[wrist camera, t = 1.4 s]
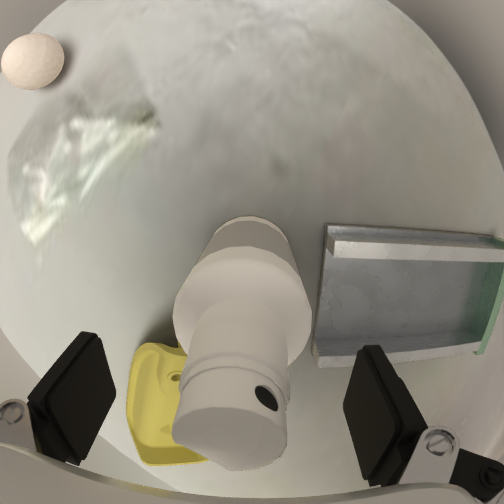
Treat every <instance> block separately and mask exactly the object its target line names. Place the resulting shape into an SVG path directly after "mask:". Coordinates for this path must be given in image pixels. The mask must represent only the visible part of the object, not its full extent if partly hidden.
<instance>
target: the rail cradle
mask: <svg viewBox="0 0 504 504" xmlns="http://www.w3.org/2000/svg"><path fill="white" fill-rule="evenodd" d="M503 296H504V240H503V239H501V238H493V237H491V236H489V235H482V234H471V233H460V232H449V231H437V230H424V229H411V228H397V227H382V226H366V225H349V224H330V223H325V234H324V245H323V256H322V266H321V276H320V285H319V293H318V301H317V309H316V317H315V325H314V332H313V339H312V346H311V353H312V356H314V357H315V361H316V365H317V368H332V367H352V366H354V363H355V359H356V355H357V352H358V350H361V349H362V348H363V346H364V345H377V344H378V345H380V346H381V348H382V349H383V351H384V353H385V355H386V356H387V358H388V360H389V361H390V363H401V362H409V361H418V360H425V359H433V358H439V357H446V356H452V355H458V354H464V353H469V352H474V354H475V355H479V354H483V353H484V350H485V348H486V346H487V343H488V340H489V338H490V335H491V332H492V330H493V327H494V324H495V321H496V318H497V315H498V312H499V309H500V306H501V303H502V300H503Z"/></svg>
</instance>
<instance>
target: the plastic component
mask: <svg viewBox="0 0 504 504" xmlns="http://www.w3.org/2000/svg"><path fill="white" fill-rule="evenodd" d="M177 345H178V348H173V347H169V346H167V345H165V344H162V343H145V344H143V345H141V346H140V347H139V348H138V349H137V351H136V352H135V355H134V357H133V360H132V363H131V368H130V374H129V383H128V391H127V401H126V415H127V421H128V426H129V429H130V432H131V435H132V438H133V441H134V443H135V446H136V449H137V451H138V454H139V456H140V459H141V461H142V462H143V463H145V464H146V465H149V466H168V465H183V464H194V463H201V462H205V461H208V460H209V459H207V458H205V457H203V456H202V455H200V454H198V453H196V452H194V451H192V450H189V449H187V448H185V447H184V446H182V445H179V444H176V443H175V442H174V440H173V438H172V434H171V432H172V426H173V421H174V418H175V415H176V412H177V408H178V405H179V402H180V392H179V388H178V387H179V382H180V376H181V373H182V370H183V367H184V364H185V361H186V359H187V356H188V355H187V354H186V353H185V351H184V350H183V348H182V346H181V344H180V343H179V341H178V343H177ZM175 374H178V375H175Z"/></svg>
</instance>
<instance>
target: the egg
mask: <svg viewBox="0 0 504 504" xmlns="http://www.w3.org/2000/svg"><path fill="white" fill-rule="evenodd" d="M63 64H64V52H63V48H62V46H61V45H60V43H59V42H58V41H57V40H56V39H55V38H53V37H51V36H49V35H46V34H41V33H33V34H27V35H24V36H22V37H19V38H17V39H15V40H14V41H13V42H12V43H10V44H9V45H8V47H7V48H6V50H5V51H4V53H3V56H2V61H1V67H2V71H3V73H4V75H5V77H6V78H7V79H8V81H9V82H10V83H11V84H13V85H14V86H16V87H19V88H21V89H26V90H34V89H39V88H41V87H44V86H46V85H48V84H49V83H51V82H52V81H53V80H54V79H55V78H56V77H57V76H58V75H59V73H60V71H61V70H62V67H63Z"/></svg>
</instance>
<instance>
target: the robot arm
mask: <svg viewBox="0 0 504 504" xmlns="http://www.w3.org/2000/svg"><path fill="white" fill-rule="evenodd" d="M115 397H116V388H115V385H114V382H113V379H112V376H111V372H110V369H109V366H108V362H107V359H106V355H105V351H104V348H103V344H102V340H101V339H100V338H99V337H98V336H97V334H95V333H91V332H84V331H82V332H81V333H80V334H79V335H78V336H77V337H76V338H75V339H74V340H73V342H72V343H71V344H70V345H69V346H68V347H67V349H66V350H65V351H64V352H63V353H62V355H61V356H60V357H59V358H58V359H57V361H56V362H55V363H54V364H53V365H52V367H51V368H50V369H49V370H48V372H47V373H46V374H45V375H44V377H43V378H42V379H41V380H40V382H39V383H38V384H37V385H36V387H35V388H34V389H33V390H32V392H31V393H30V394H29V396H28V400H29V401H28V403H27V404H26V403H25V402H24V401H22V400H19V399H10V400H7V401H5V402H3V403H1V405H0V504H504V465H503V464H502V463H500V462H498V461H495V460H492V459H489V458H486V457H483V456H480V455H477V454H475V453H472V452H469V451H466V450H463V449H461V448H460V441H459V438H458V436H457V435H456V433H455V432H453V431H452V430H451V429H449V428H447V427H443V426H432V427H430V428H428V426H427V424H426V422H425V420H424V418H423V417H422V415H421V413H420V411H419V409H418V407H417V405H416V404H415V402H414V400H413V398H412V396H411V395H410V393H409V391H408V389H407V387H406V386H405V384H404V382H403V380H402V379H401V378H399V377H398V375H397V374H396V372H395V370H394V368H393V367H392V365H391V363H390V361H389V360H388V358H387V356H386V355H385V353H384V351H383V349H382V348H381V346H380V345H378V344H377V345H364V346H363V348H362V349H361V350H358V352H357V355H356V359H355V363H354V367H353V371H352V374H351V378H350V381H349V385H348V388H347V392H346V395H345V398H344V402H343V410H344V414H345V417H346V420H347V424H348V427H349V431H350V434H351V437H352V441H353V444H354V448H355V451H356V455H357V459H358V462H359V466H360V469H361V473H362V477H363V479H364V480H368V482H369V486H370V487H371V486H376V485H381V487H380V488H373V489H367V490H361V491H355V492H348V493H341V494H332V495H322V496H312V497H298V498H231V497H216V496H205V495H196V494H188V493H181V492H174V491H168V490H163V489H157V488H152V487H147V486H142V485H138V484H134V483H129V482H125V481H121V480H117V479H114V478H110V477H106V476H103V475H100V474H97V473H93V472H90V471H87V470H84V469H81V468H78V467H75V466H72V465H69V464H67V463H65V462H66V461H67V462H69V463H72V464H74V465H77V466H79V465H80V462H81V460H85V459H86V457H87V455H88V452H89V450H90V448H91V446H92V444H93V442H94V440H95V438H96V436H97V434H98V432H99V430H100V428H101V426H102V424H103V422H104V420H105V418H106V416H107V414H108V412H109V410H110V408H111V406H112V404H113V402H114V400H115Z"/></svg>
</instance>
